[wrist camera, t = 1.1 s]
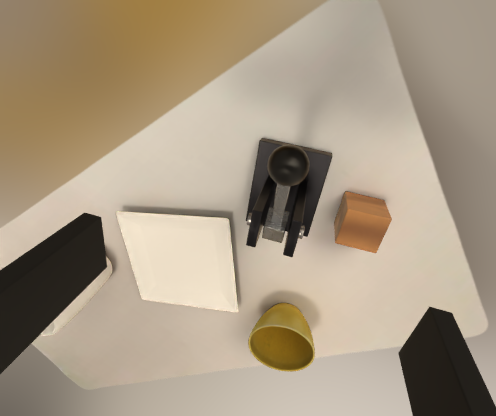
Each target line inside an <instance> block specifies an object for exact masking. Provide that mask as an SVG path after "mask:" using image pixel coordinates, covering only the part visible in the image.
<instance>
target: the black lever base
mask: <svg viewBox="0 0 496 416" xmlns="http://www.w3.org/2000/svg"><path fill="white" fill-rule="evenodd" d="M283 145H292V144H288V143H283V142H279V141H274V140H269V139H265V138H261V140H260V143H259V148H258V154H257V160H256V165H255V171H254V177H253V182H252V188H251V194H250V199H249V205H248V211H247V217H246V221H247V225H250V227H249V232H248V238H247V243H246V245H248V246H251V247H256V244H257V241H258V238H259V235H260V232H261V230H262V227H263V226H264V224H265V220H266V217H267V213H268V210H269V207H271V208H273V206H274V200H275V195H276V189H277V183H276V182H275V181H274V180H273V179H272V178H271V177H270V175H269V172H268V160H269V157H270V155H271V154H272V152H273V151H274V150H275V149H277V148H278V147H280V146H283ZM295 146H297V145H295ZM298 147H300V148H301V149H302V150H303V151H304V152H305V153H306V154H307V156H308V159H309V171H308V174H307V176H306V177H305V179H304V180H303V181H302V182H300V183H299V184H297V185H294V186H291V187H290V191H289V195H288V199H287V203H286V207H285V211H287V212H289V217H288V221H287V226H286V230H285V231H287V232H288V233H287V238H286V243H285V248H284V253H283V255H286V256H289V257H293V254H294V250H295V247H296V243H297V240H298V238H300V239H302V237H303V236H306V237H307V236H308V233H309V230H310V227H311V224H312V221H313V217H314V214H315V211H316V208H317V204H318V201H319V198H320V195H321V192H322V188H323V185H324V182H325V179H326V175H327V172H328V169H329V166H330V163H331V159H332V153H329V152H324V151H320V150H315V149H311V148H306V147H302V146H298Z"/></svg>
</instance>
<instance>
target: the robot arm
mask: <svg viewBox="0 0 496 416" xmlns="http://www.w3.org/2000/svg"><path fill="white" fill-rule="evenodd" d="M106 268H107V261H106V253H105V245H104V237H103V229H102V221H101V217H99V216H95V215H91V214H88V213H83V214H82V215H80V216H79V217H77V218H76V219H75V220H73V221H72V222H70V223H69V224H67V225H66V226H64V227H63V228H61V229H60V230H59V231H57V232H56V233H54V234H53V235H51V236H50V237H48V238H47V239H45V240H44V241H43V242H41V243H40V244H38V245H37V246H35V247H34V248H32V249H31V250H29V251H28V252H26V253H25V254H24V255H22V256H21V257H19V258H18V259H16V260H15V261H13V262H12V263H10V264H9V265H8V266H6V267H5V268H3V269H2V270H0V374H1V373H2V372H3V371H4V370H5V369H6V368H7V367H8V366H9V365H10V364H11V363H12V362H13V361H14V360H15V359H16V358H17V357H18V356H19V355H20V354H21V353H22V352H23V351H24V350H25V349H26V348H27V347H28V346H29V345H30V344H31V343H32V342H33V341H34V340H35V339H36V338H37V337H38V336H39V335H40V334H41V333H42V332H43V331H44V330H45V329H46V328H47V327H48V326H49V325H50V324H51V323H52V322H53V321H54V320H55V319H56V318H57V317H58V316H59V315H60V314H61V313H62V312H63V311H64V310H65V309H66V308H67V307H68V306H69V305H70V304H71V303H72V302H73V301H74V300H75V299H76V298H77V297H78V296H79V295H80V294H81V293H82V292H83V291H84V290H85V289H86V288H87V287H88V286H89V285H90V284H91V283H92V282H93V281H94V280H95V279H96V278H97V277H98V276H99V275H100V274H101V273H102V272H103V271H104V270H105V269H106ZM399 357H400V361H401V366H402V370H403V375H404V379H405V383H406V387H407V392H408V396H409V401H410V405H411V409H412V413H413V416H496V406H495V404H494V402H493V400H492V398H491V396H490V393H489V391H488V389H487V387H486V385H485V383H484V381H483V379H482V376H481V374H480V372H479V370H478V368H477V366H476V364H475V361H474V359H473V357H472V355H471V353H470V351H469V349H468V346H467V344H466V342H465V340H464V338H463V336H462V334H461V331H460V329H459V327H458V325H457V323H456V321H455V319H454V316H453V314H452V313H450V312H447V311H443V310H439V309H436V308H432V307H429V308H428V310H427V311H426V313H425V314H424V316H423V317H422V319H421V320H420V322H419V323H418V325H417V326H416V328H415V329H414V331H413V332H412V334H411V335H410V337H409V338H408V340H407V341H406V343H405V344H404V346H403V347H402V349H401V350H400V352H399Z"/></svg>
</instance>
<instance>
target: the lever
mask: <svg viewBox="0 0 496 416" xmlns="http://www.w3.org/2000/svg"><path fill="white" fill-rule="evenodd" d="M308 171H309V159H308V156H307V154H306V153H305V152H304V151H303V150H302V149H301V148H300V147H298V146H295V145H283V146H280V147H278V148H277V149H275V150H274V151H273V152H272V154H271V155H270V157H269V160H268V172H269V175H270V177H271V178H272V179H273V180H274V181H275V182H276V183H277V189H276V195H275V200H274V206H273V208H271V207H269V210H268V213H267V217H266V220H265V224H264V228H263V235H262V238H264V239H268V240H272V241H276V242H280V243H282V241H283V237H284V234H285V230H286V226H287V221H288V217H289V212H287V211H285V207H286V203H287V199H288V195H289V191H290V187H291V186H294V185H297V184H299V183H300V182H302V181H303V180H304V179H305V177H306V176H307V174H308Z"/></svg>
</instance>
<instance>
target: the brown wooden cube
mask: <svg viewBox="0 0 496 416" xmlns="http://www.w3.org/2000/svg"><path fill="white" fill-rule="evenodd" d="M391 220H392V218H391V216H390V213H389V211H388V208H387V206H386V203H385V201H384V200H381V199H377V198H373V197H368V196H364V195H360V194H355V193H351V192H347V191H345V193H344V196H343V199H342V202H341V205H340V207H339V210H338V213H337V216H336V219H335V222H334V230H335V243H337V244H341V245H345V246H349V247H353V248H357V249H361V250H365V251H369V252H373V253H376V252H377V250H378V248H379V246H380V243H381V241H382V239H383V237H384V235H385V233H386V231H387V229H388V226H389V224H390V222H391Z"/></svg>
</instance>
